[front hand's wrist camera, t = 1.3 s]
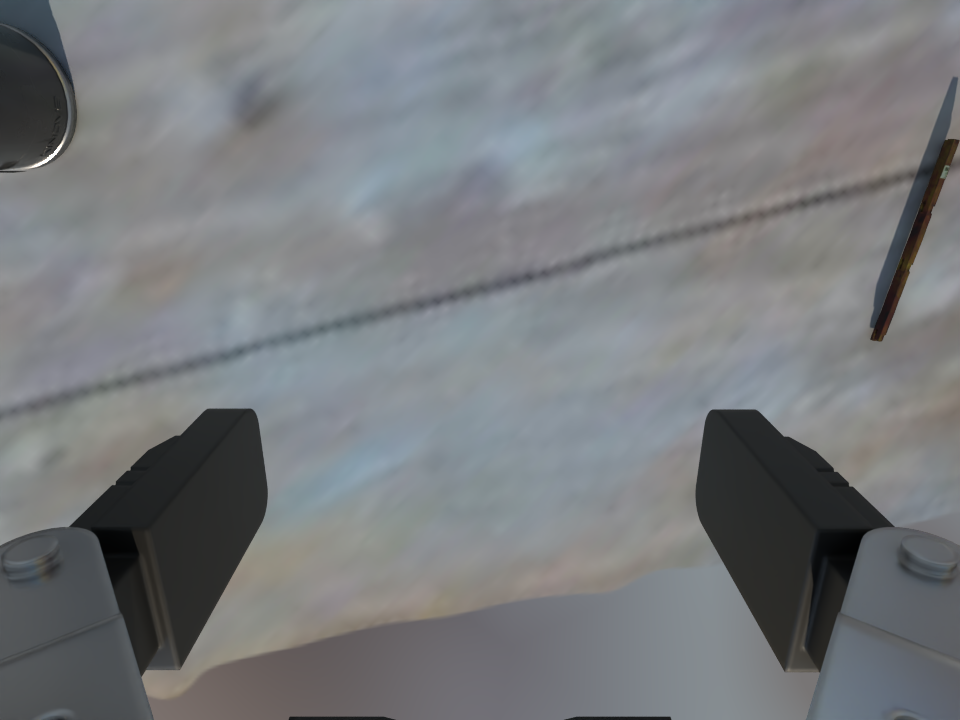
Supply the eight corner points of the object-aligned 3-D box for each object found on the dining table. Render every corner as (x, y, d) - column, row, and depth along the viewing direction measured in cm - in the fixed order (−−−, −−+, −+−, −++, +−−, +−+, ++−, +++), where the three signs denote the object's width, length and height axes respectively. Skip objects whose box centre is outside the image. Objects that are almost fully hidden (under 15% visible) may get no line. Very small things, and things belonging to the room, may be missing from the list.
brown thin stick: (875, 339, 49) (883, 344, 48) (869, 339, 49) (877, 343, 48) (950, 139, 44) (960, 140, 43) (944, 139, 44) (954, 139, 43)
